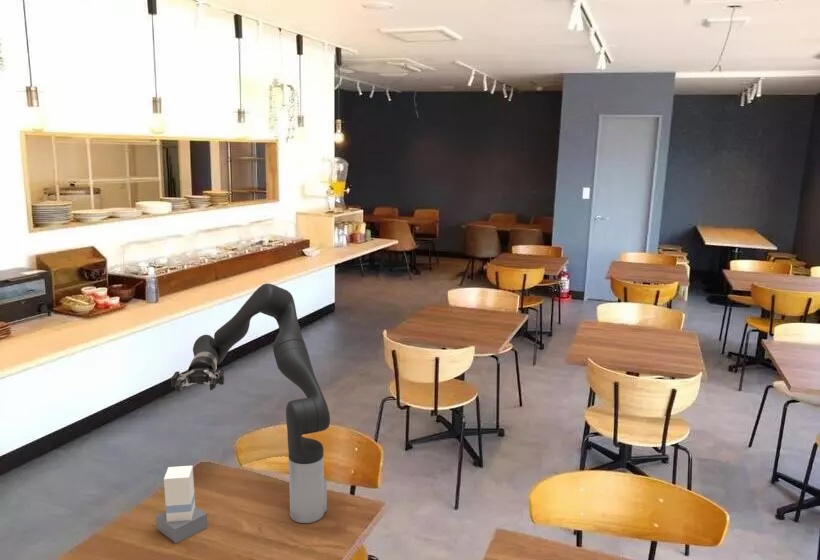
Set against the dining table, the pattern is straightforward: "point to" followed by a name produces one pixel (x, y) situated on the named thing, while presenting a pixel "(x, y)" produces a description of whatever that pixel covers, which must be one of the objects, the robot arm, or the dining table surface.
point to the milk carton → (179, 493)
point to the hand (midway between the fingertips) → (195, 387)
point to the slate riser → (182, 526)
